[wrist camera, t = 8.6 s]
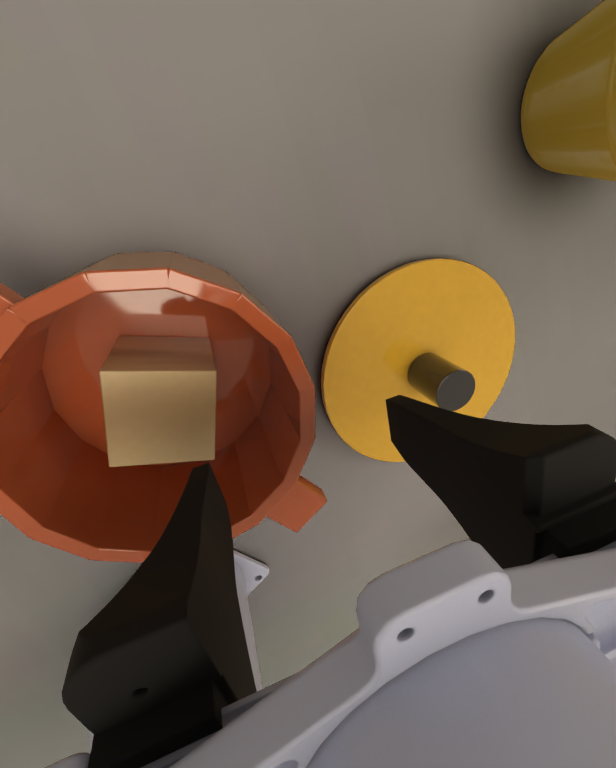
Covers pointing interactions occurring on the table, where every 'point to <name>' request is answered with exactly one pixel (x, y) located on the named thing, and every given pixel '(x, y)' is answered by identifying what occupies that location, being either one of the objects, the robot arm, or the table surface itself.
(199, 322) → the pot
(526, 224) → the table surface
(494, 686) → the robot arm
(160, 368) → the block
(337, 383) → the yellow disc with peg
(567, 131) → the flower pot
